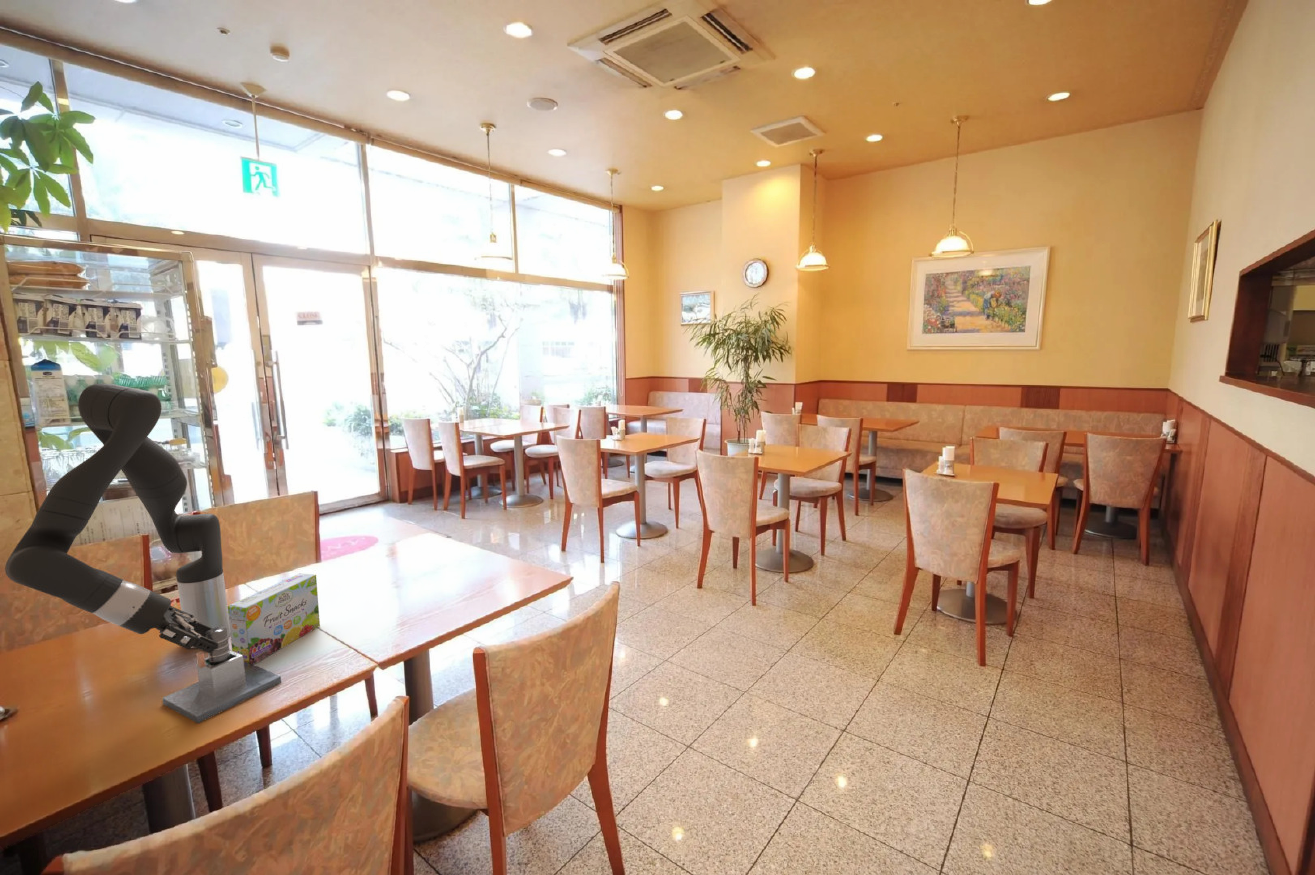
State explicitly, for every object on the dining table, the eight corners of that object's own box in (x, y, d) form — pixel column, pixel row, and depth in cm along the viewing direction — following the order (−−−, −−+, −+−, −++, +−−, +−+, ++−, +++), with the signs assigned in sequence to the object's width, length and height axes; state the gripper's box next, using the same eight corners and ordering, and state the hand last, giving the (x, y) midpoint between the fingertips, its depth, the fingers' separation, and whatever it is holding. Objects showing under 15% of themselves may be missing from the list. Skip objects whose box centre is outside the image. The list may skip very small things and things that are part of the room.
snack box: (252, 668, 133) (245, 607, 131) (232, 665, 134) (225, 605, 132) (322, 626, 154) (316, 573, 152) (304, 624, 155) (298, 571, 153)
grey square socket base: (163, 704, 119) (156, 655, 118) (246, 667, 133) (240, 623, 132) (198, 723, 113) (191, 672, 111) (281, 682, 127) (276, 636, 126)
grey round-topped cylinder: (208, 686, 122) (201, 632, 120) (227, 678, 125) (221, 625, 124) (218, 691, 121) (210, 636, 119) (237, 682, 124) (230, 628, 122)
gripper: (149, 601, 108) (231, 637, 117) (147, 580, 118) (222, 614, 128) (115, 636, 105) (201, 670, 114) (116, 611, 115) (195, 644, 125)
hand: (212, 641), depth 121 cm, fingers open, 8 cm apart
